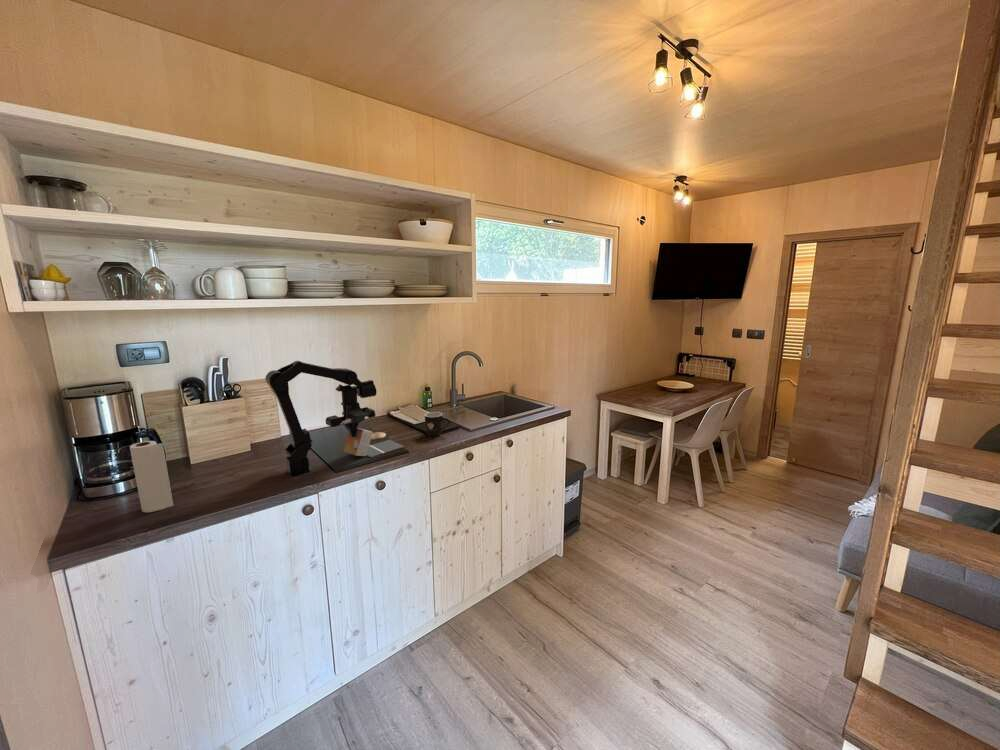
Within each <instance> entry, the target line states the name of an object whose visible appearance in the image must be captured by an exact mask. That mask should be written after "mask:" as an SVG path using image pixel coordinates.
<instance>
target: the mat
mask: <svg viewBox="0 0 1000 750" xmlns="http://www.w3.org/2000/svg"><path fill="white" fill-rule="evenodd" d="M399 448H402V449H404V448H405V445H403V444H399V443H398V442H396V441H393V440H391V439H387V440H384V441H380V442H376V443H373V444H369V447H368V451H367V454H366V456H365V457H368V458H369V457H370V459H372V458H371V457H373V458H375V457H374V456H376V457H378V456H377V455H380V454H383V455H385V454H384V453H386V454H388V453H387V452H389V453H391V452H390V451H392V452H394V451H393V450H396V449H399ZM399 450H400V449H399ZM396 451H397V450H396ZM380 456H381V455H380Z"/></svg>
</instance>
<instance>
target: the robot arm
mask: <svg viewBox="0 0 1000 750" xmlns="http://www.w3.org/2000/svg"><path fill="white" fill-rule="evenodd" d="M300 374H306V375H307V374H308V375H312V376H316V377H317V376H318V377H322V378H327V379H331V380H335V381H337V382H340V384H338V386H337V387H336V388H335V391H337V392H341V400H342V402H340V403H341V404H340V405H341V406H342V412H341V415H342V416H338V415H334V414H333V415H331V416H327V417H326V418H325V421H324V422H325V425H327V426H329V427H331V428H335V427H339V426H341V425H343V426H345V428H346V430H347V431H348V433H350V435H351V437H352V438H353V437H355V433H356V430H357V428H358V426H359V425H360V423H362V422H364V421H365V420H366V417H367V418H369V419H371V418H372V419H373V418H375V417H376V411H375V410H374V409H373V408H369V407H368V406H365V407H361V405H360V402H358V397H359V398H361V399H365V398H370V397H371V398H372V397H375V396H377V388H376V385H375V383H374V382H375V381H374V380H373V379H369V380H366V381H365V380H364V381H361V379H359V378H358V374H357V373H356V371H354V370H352V369H349V368H333V367H332V368H331V367H326V366H323V365H322V366H321V365H317V364H312V363H307V362H303V361H302V360H295V361H293V362H291V363H290V364H288V365H285V366H283V367H280V368H279V369H277V370H270V371H269V372H268V373H267V374H266V375H265V381H266V383H267V385H268V387H269V388H270V390H271V391H272V392H273V394H274V395H275V397H276V399H277V402H278V404H279V407H280V409H281V412H282V414H283V416H284V420H285V422H286V425H287V428H288V430H289V442H290V443H289V444H288V446H286V448H285V449H284V451H285V453H286V455H287V456H286V457H285V459H286V466H287V470H285V471H286V473H287V474H289V476H291V477H295V476H296V477H297V476H298V475H301V474H305V473H309V472H310V463H309V462H310V461H309V457H308V453H309V451H311V449H312V446H313V445H312V443H313V442H314V441H313V440H312V439H311V434H310V431H308V429H306V428H302V426H301V424H300V421H299V417H298V415H297V413H296V410H295V408H294V405H293V402H292V399H291V397H290V387H289V382H291V381H292V380H294V379H295V378H296V377H298V375H300ZM341 383H342V384H345V385H342V384H341ZM353 385H354V386H353Z"/></svg>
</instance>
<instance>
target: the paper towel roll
mask: <svg viewBox="0 0 1000 750" xmlns="http://www.w3.org/2000/svg"><path fill="white" fill-rule="evenodd" d="M129 451H130V456H131V461H132V467H133V471H134V476H135V481H136V482H135V483H136V487H137V492H138V498H139V501H140V508H141V511H142V512H143V513H153V512H157V511H158V512H159V511H161V510H164V509H167V508H170V507H173V506H174V502H173V501H174V500H173V496H172V490H171V485H170V484H171V482H170V479H169V473H168V466H167V459H166V455H165V450H164V443H157V442H156V441H155V440H146V441H141V442H136V443H133V444H131V445H130V446H129Z"/></svg>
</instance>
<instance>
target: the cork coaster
mask: <svg viewBox="0 0 1000 750" xmlns="http://www.w3.org/2000/svg"><path fill="white" fill-rule="evenodd" d="M386 437H387V434H386V433H385V432H383V431H382V432H377V431H376V432H373V433H372V436H371V440H370V441H372V440H373V441H376V440H377V439H378V440H382V439H384V438H386ZM381 438H382V439H381Z"/></svg>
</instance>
